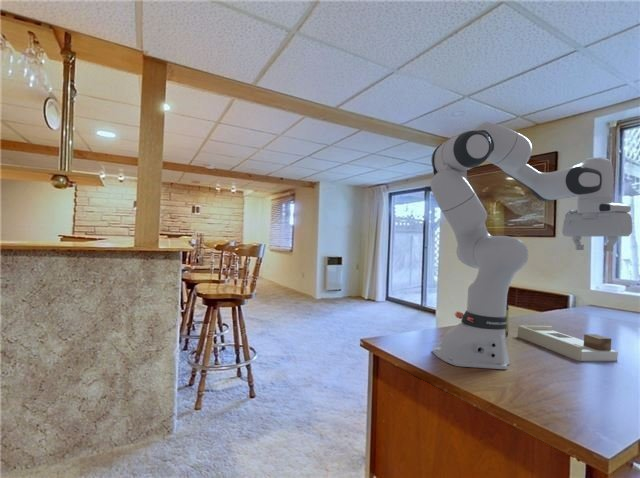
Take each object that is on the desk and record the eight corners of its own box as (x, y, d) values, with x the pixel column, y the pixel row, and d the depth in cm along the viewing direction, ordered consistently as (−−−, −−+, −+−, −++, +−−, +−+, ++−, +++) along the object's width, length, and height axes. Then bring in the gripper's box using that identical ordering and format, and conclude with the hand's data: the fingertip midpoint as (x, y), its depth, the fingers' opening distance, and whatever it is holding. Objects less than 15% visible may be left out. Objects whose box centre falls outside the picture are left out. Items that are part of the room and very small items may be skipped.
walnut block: (598, 350, 108) (598, 338, 108) (583, 345, 112) (584, 334, 113) (610, 350, 108) (611, 338, 108) (595, 345, 113) (596, 334, 113)
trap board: (578, 360, 105) (579, 347, 105) (517, 336, 131) (518, 325, 131) (617, 360, 108) (617, 347, 108) (549, 336, 133) (550, 326, 133)
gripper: (558, 210, 116) (556, 249, 116) (619, 204, 96) (618, 251, 96) (573, 211, 117) (572, 249, 117) (637, 205, 97) (635, 252, 97)
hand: (593, 250), depth 106 cm, fingers open, 8 cm apart
